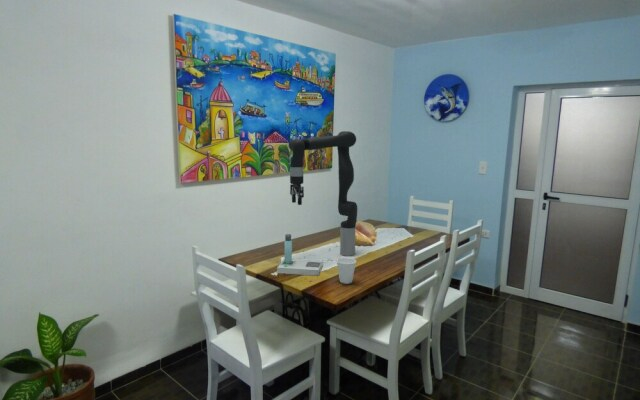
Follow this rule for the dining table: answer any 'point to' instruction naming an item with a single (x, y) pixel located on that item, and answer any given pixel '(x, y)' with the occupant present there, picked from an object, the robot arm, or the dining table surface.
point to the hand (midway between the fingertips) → (296, 203)
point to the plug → (288, 249)
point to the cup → (346, 269)
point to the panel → (301, 267)
